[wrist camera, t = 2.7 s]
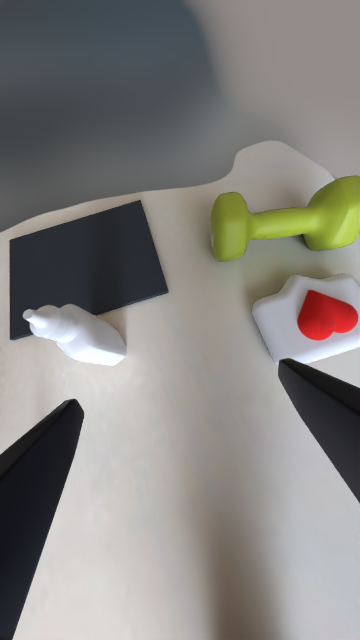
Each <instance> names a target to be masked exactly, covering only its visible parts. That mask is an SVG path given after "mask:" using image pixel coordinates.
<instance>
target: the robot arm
mask: <svg viewBox="0 0 360 640" xmlns="http://www.w3.org/2000/svg"><path fill="white" fill-rule="evenodd" d="M278 376H279V379H280V381H281V383H282V385H283V387H284V388H285V390H286V392H287V394H288V396H289V398H290V399H291V401H292V403H293V405H294V407H295V408H296V410H297V412H298V414H299V415H300V417H301V418H302V420H303V421H304V423H305V424H306V425H307V427H308V428H309V430H310V431H311V433H312V434H313V436H314V437H315V439H316V440H317V442H318V443H319V444H320V446H321V447H322V449H323V450H324V452H325V453H326V455H327V456H328V458H329V459H330V460H331V462H332V463H333V465H334V466H335V468H336V469H337V471H338V472H339V474H340V475H341V476H342V478H343V479H344V481H345V482H346V484H347V485H348V487H349V488H350V490H351V491H352V493H353V494H354V495H355V497H356V498H357V500H358V501H359V503H360V388H358V387H356V386H354V385H351V384H349V383H347V382H344V381H342V380H340V379H338V378H335V377H333V376H331V375H328V374H326V373H324V372H321V371H319V370H317V369H314V368H312V367H310V366H308V365H305V364H303V363H301V362H298V361H296V360H294V359H291V358H285V359H280V360H279V366H278ZM83 419H84V411H83V409H82V407H81V406H80V404H79V402H78V401H77V400H76V399H70V400H66V401H64V402H63V403H62V404H60V405H59V406H58V407H57V408H56V409H54V410H53V411H52V412H51V413H50V414H48V415H47V416H46V417H45V418H44V419H42V420H41V421H40V422H39V423H38V424H36V425H35V426H34V427H33V428H32V429H30V430H29V431H28V432H27V433H26V434H24V435H23V436H22V437H21V438H20V439H18V440H17V441H16V442H15V443H14V444H12V445H11V446H10V447H9V448H8V449H6V450H5V451H4V452H3V453H2V454H0V640H12V639H13V636H14V633H15V630H16V627H17V624H18V621H19V618H20V615H21V612H22V610H23V607H24V604H25V601H26V598H27V595H28V592H29V589H30V586H31V583H32V580H33V577H34V574H35V571H36V568H37V565H38V562H39V559H40V556H41V553H42V550H43V547H44V544H45V541H46V538H47V535H48V532H49V529H50V527H51V524H52V521H53V518H54V515H55V512H56V509H57V506H58V503H59V500H60V497H61V494H62V491H63V488H64V485H65V482H66V479H67V476H68V473H69V470H70V467H71V464H72V461H73V458H74V455H75V451H76V448H77V444H78V439H79V435H80V431H81V427H82V423H83Z"/></svg>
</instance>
